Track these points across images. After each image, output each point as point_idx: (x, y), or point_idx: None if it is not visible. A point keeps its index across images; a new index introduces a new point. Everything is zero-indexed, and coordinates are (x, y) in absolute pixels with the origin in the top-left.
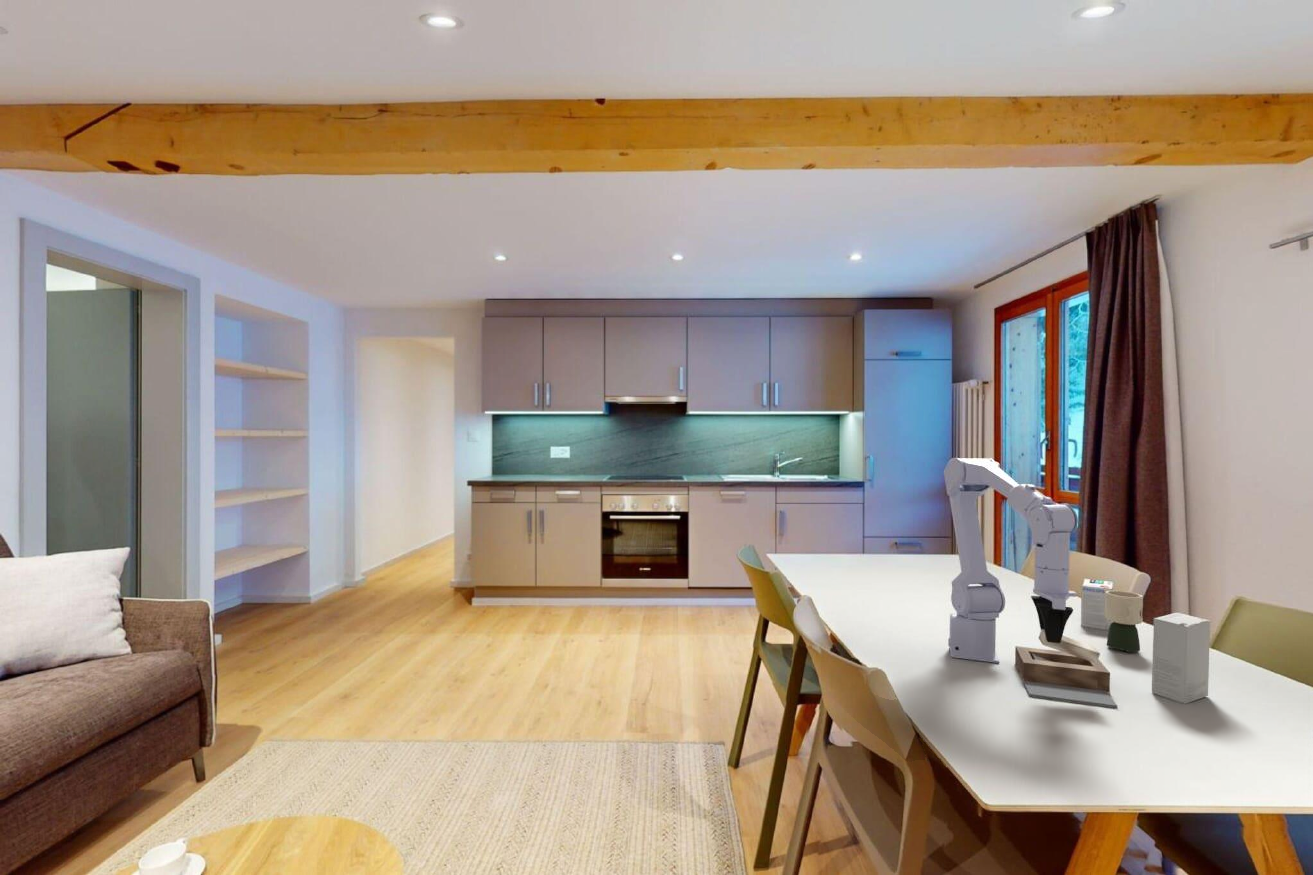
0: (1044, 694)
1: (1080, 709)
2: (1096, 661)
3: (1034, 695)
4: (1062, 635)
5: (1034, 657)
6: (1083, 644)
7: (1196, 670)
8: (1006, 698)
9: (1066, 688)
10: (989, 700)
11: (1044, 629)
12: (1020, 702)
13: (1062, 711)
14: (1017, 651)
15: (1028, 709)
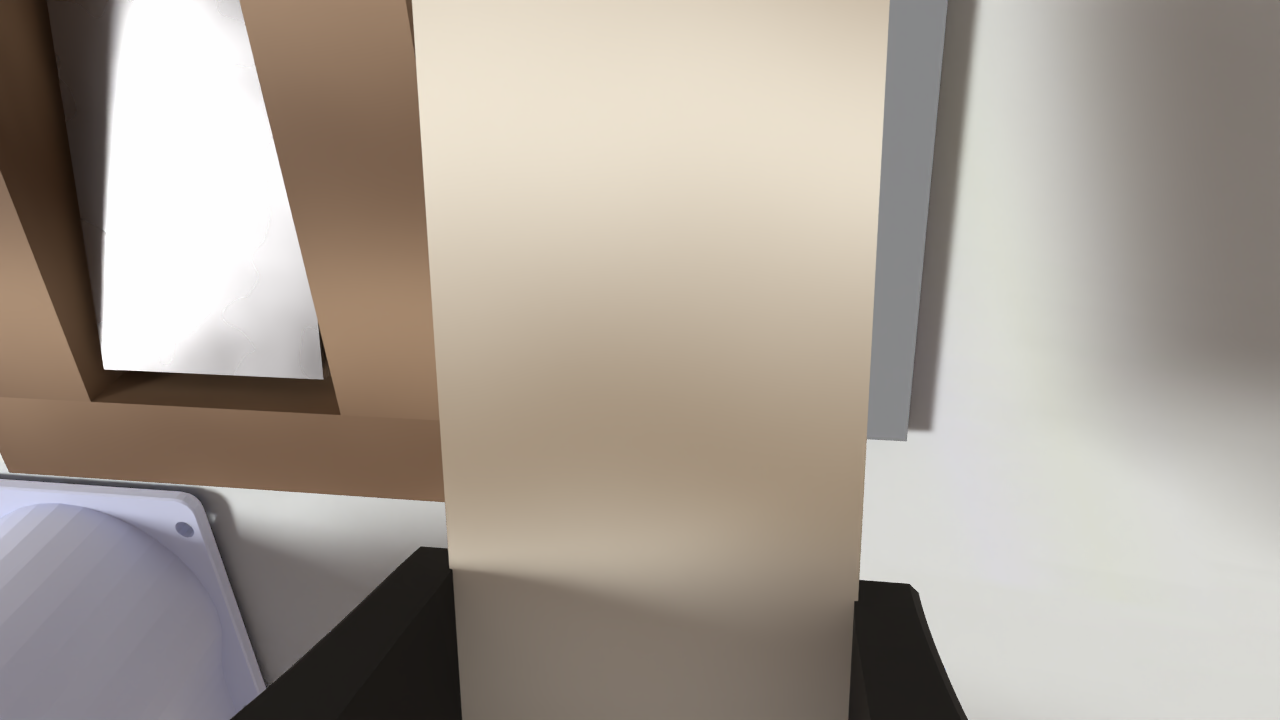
0: (875, 332)
1: (1118, 76)
2: None
3: (908, 402)
4: (940, 669)
5: (221, 370)
6: (580, 161)
7: None
8: (1007, 578)
9: None
10: (1089, 680)
11: (461, 716)
12: (1071, 509)
13: (1215, 247)
14: (135, 473)
15: (1226, 487)
